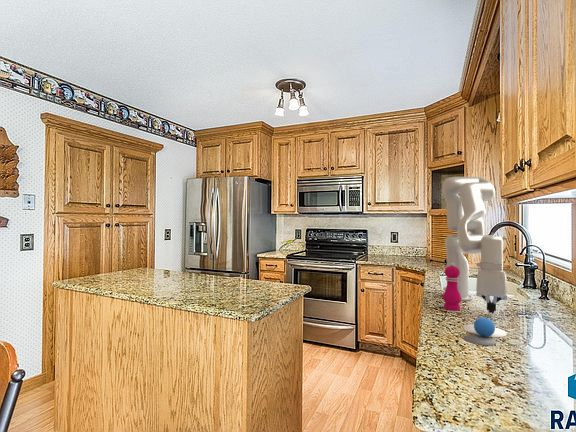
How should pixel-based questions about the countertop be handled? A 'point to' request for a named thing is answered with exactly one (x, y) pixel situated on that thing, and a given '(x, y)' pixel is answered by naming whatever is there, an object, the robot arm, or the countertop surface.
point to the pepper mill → (452, 288)
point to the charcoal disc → (479, 340)
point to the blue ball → (484, 327)
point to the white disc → (471, 329)
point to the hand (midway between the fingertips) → (491, 312)
